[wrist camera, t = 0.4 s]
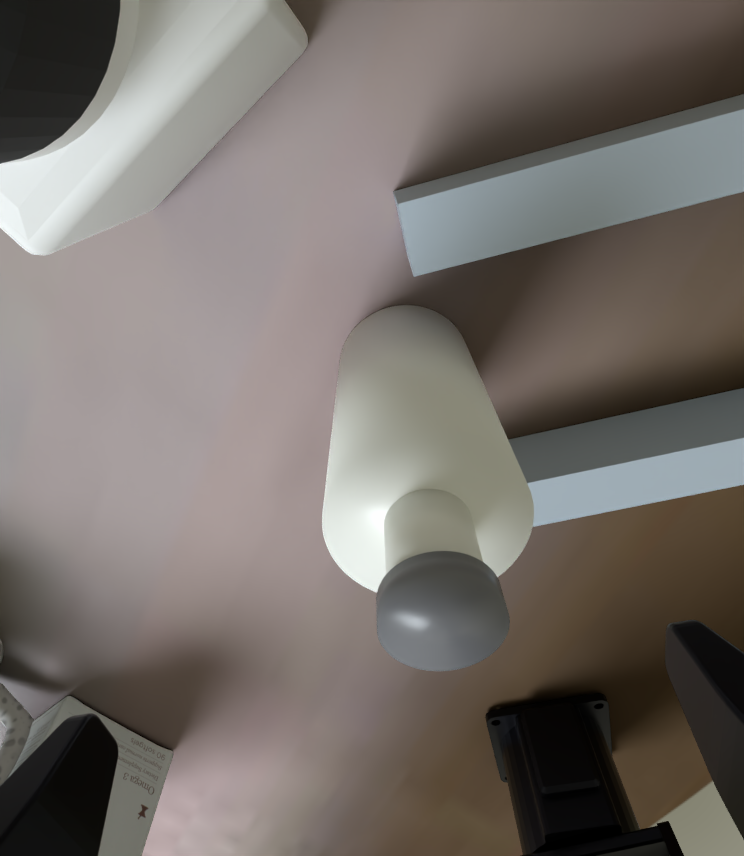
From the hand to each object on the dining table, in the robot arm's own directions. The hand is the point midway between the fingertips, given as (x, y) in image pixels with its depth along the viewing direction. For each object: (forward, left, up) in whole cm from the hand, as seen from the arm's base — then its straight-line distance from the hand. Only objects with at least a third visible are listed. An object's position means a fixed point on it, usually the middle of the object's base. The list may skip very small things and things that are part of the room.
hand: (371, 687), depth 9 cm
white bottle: (-1, -1, -13) cm, 13 cm away
